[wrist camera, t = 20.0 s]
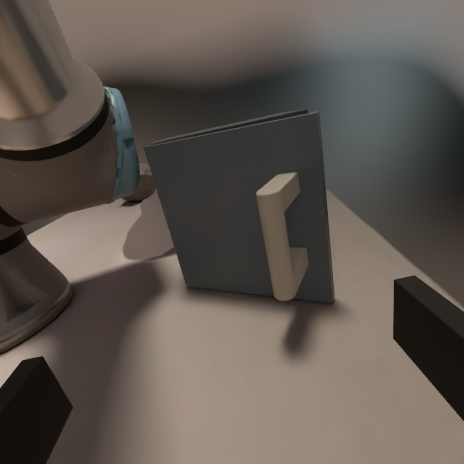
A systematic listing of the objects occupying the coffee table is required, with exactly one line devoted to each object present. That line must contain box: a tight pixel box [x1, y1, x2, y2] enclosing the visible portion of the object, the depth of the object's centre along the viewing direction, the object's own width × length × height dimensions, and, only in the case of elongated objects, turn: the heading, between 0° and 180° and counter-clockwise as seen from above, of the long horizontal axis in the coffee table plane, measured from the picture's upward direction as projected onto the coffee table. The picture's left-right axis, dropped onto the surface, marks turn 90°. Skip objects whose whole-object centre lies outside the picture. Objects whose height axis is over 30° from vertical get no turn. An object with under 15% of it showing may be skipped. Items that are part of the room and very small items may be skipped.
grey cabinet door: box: [144, 112, 335, 303], centre depth 24 cm, size 6×16×16 cm, turn 64°
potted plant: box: [122, 162, 156, 201], centre depth 85 cm, size 12×13×15 cm
